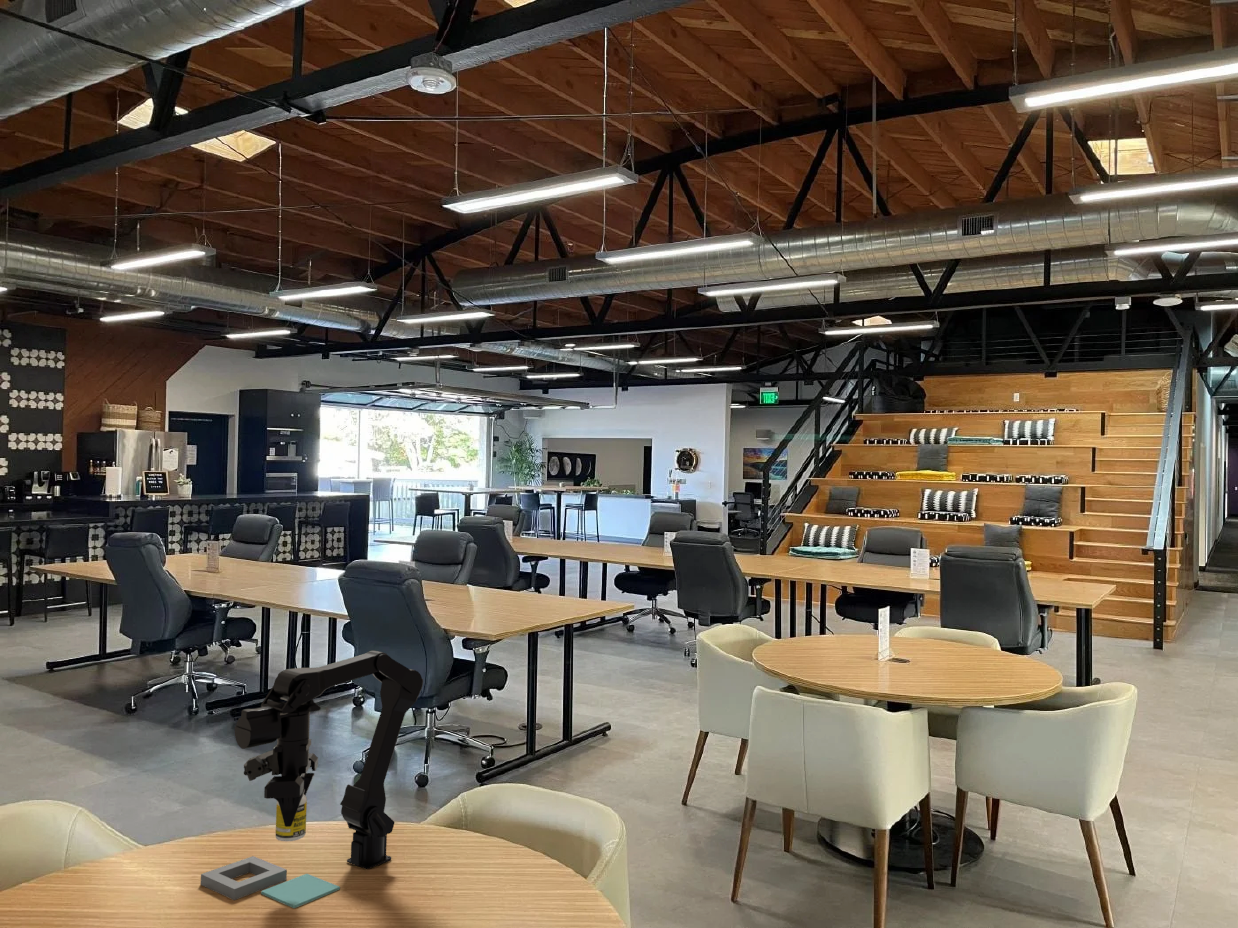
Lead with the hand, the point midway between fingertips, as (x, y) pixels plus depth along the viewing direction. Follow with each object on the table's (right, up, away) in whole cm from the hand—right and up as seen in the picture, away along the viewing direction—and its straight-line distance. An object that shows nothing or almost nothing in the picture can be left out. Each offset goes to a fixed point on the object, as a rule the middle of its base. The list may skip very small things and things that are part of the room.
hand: (291, 820), depth 169 cm
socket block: (-10, -13, +2) cm, 16 cm away
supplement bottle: (0, -3, 0) cm, 3 cm away
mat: (+2, -13, -2) cm, 13 cm away
